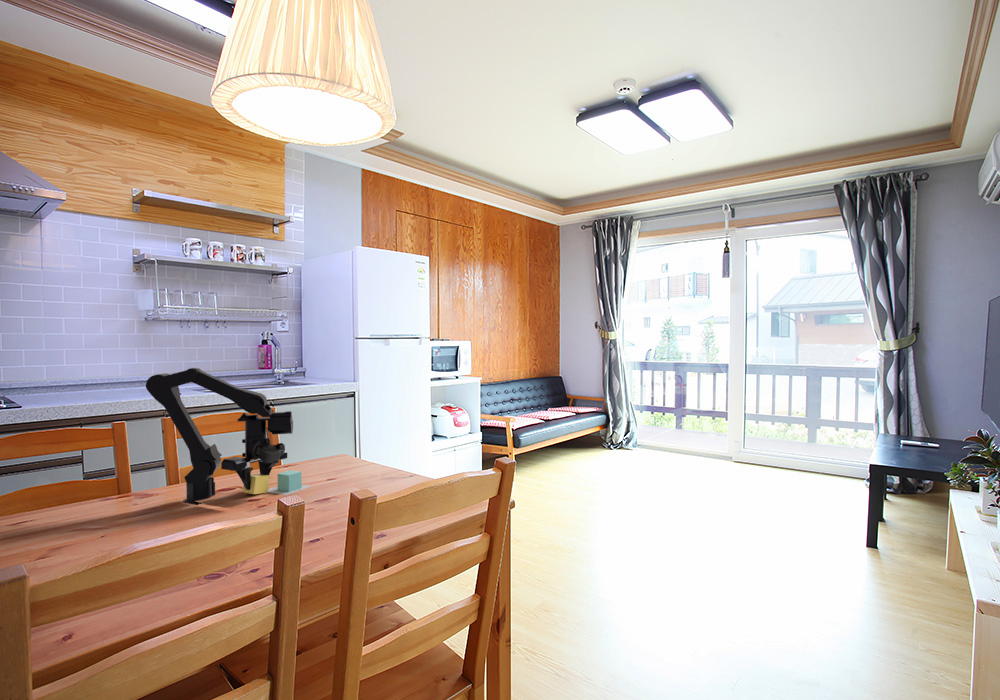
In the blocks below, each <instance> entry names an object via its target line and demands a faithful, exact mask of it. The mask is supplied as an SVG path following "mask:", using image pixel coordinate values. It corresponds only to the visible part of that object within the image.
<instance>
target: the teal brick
mask: <svg viewBox="0 0 1000 700" xmlns="http://www.w3.org/2000/svg"><path fill="white" fill-rule="evenodd" d="M302 485H303V482H302V471H299V470H291V469H289V470H286V471H283V472H280V473H277V486H278V490H280V491H286V492H291V491H294V490H297V489H300V488H302Z"/></svg>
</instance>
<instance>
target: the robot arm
mask: <svg viewBox="0 0 1000 700" xmlns="http://www.w3.org/2000/svg"><path fill="white" fill-rule="evenodd" d="M189 383H193V384H195V385H197V386H200V387H202V388H204V389H205V390H209V391H211V392H213V393H214V394H217V395H219V396H221V397H224V398H226V399H229V400H230V401H232V402H233V403H234V404H235V405H237V407H239V408H240V409H242V410H243V411H245V412H243V413H242V414H241V416H240V417H239V418H237V422H244V438H242V440H241V443H242V444H244V448H245V450H244V452H242V456H241V457H238V456H232V457H229V458H228V457H227V458H224V459H222V455H223V454H221V452H219V450H218V447H217V445H216V444H215V443H213V444H212V445H209V444H208V443H207V442H206V441H205V440H204V438H203V435H202V434H201V433H200V431H199V429H198V428H197V425H196V423H195V422H194V420H193V419H192V417H191V415H190V413H189V412H188V410H187V408H186V407H185V405H184V403H183V402H182V399H181V392H180V388H179V386H183V385H185V384H186V385H187V384H189ZM145 388H146V390H147V392H148V393H149V394H150V395H151V397H153V398H154V400H155V401H157V403H159V404H160V405H161V406H163V407H164V409H165V411H166V412H167V414H168V416H169V418H170V420H171V421H172V423H173V425H174V426H175V428H176V429H177V431H178V433H179V434H180V436H181V438H182V440H183V442H184V443H185V445H186V447H187V448H188V451H189V457H190V459H189V460H190V462H191V463H190V464H191V465H192V469H190V471H189V472H188V473H186V475H185V476H184V480H185V483H186V499H184V500H183V501H182V502H183V503H187V504H191V505H195V506H197V505H202V502H200V501H203V500H204V501H205V500H209V499H210V498H212V497H214V496H215V495H216V482H215V480H214V479H215V477H212V476H214V473H215V472H216V471H217V470H218V469H219V468H220V466H221V470H227V471H232V472H234V471H235V472H236V474H237V475H238V477H239V478H240V480H241V481H242V484H243V486H245V488H246V489H247V490H250V485H251V475H252V474H251V473H252V471H253V470H254V467H251V464H252V463H258V467H259V474H263V475H270V474H271V471H272V470H273V467H274V466H275V465H277V464H279V462H280V461H283V460H286V459H288V452H287V450H286V445H285V444H284V443H282V442H280V443H276V444H271V440H270V438H269V437H267V431H268V432H269V433H271V435H273V436H274V435H287V434H288V435H292V434H293V431H294V420H293V413H292V411H291V410H290V411H289V410H287V411H280V412H279V411H276V412H275V411H274V410H273V409H272V407H271V406H270V405H269V404H268V399H267V396H266V395H265V394H263V393H262V392H261V393H260V392H257V391H253V390H250V389H245V388H241V387H238V386H236V385H234V384H232V383H230V382H227V381H225V380H223V379H220V378H218V377H216V376H215V375H212V374H210V373H207V372H206V371H204V370H202V369H200V368H199V367H190V368H187V369H185V370H183V371H178V372H174V373H171V374H170V373H158V374H153V375H152V376H149V377H148V379H147V380H146V382H145Z"/></svg>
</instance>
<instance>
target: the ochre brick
mask: <svg viewBox="0 0 1000 700" xmlns="http://www.w3.org/2000/svg"><path fill="white" fill-rule="evenodd" d="M269 485H270V474H269V475H263V474H260V473H252V474H251V485H250V490H247V489H246V488H245V486H244V485H243V487H242V493H245V494H250V495H258V494H265V493H269V492H268V489H269Z"/></svg>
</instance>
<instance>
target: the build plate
mask: <svg viewBox="0 0 1000 700" xmlns="http://www.w3.org/2000/svg"><path fill="white" fill-rule="evenodd" d="M311 487H312V486H311V485H305V484H302V488H300V489H297V490H294V491H291V492H286V491H280V490H278V485H277V486H274V487H271V488H268V492H267V493H269V494H270V493H271V494H278V495H283V496H287V495H291V494H293V493H297V492H300V491H302V490H306V489H308V488H311Z"/></svg>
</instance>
